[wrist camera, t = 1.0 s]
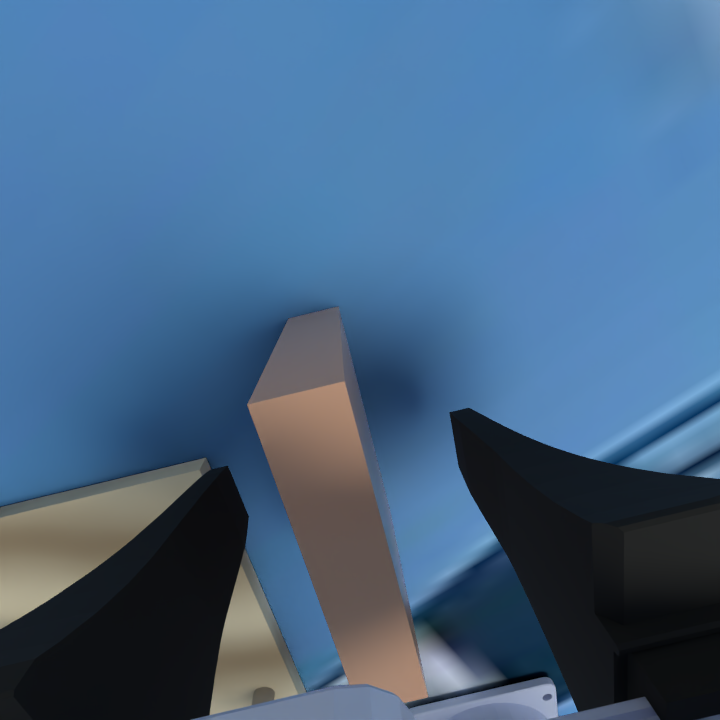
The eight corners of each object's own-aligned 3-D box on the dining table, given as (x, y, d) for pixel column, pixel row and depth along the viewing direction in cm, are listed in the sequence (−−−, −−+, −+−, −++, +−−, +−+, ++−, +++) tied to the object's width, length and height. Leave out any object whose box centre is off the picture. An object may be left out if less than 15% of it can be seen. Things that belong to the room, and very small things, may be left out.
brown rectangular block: (389, 509, 17) (428, 697, 10) (348, 518, 17) (360, 713, 10) (338, 306, 14) (344, 381, 7) (288, 318, 14) (246, 405, 7)
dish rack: (324, 735, 21) (322, 875, 16) (57, 797, 21) (-19, 954, 17) (205, 457, 15) (151, 557, 10) (-166, 547, 15) (-379, 683, 11)
